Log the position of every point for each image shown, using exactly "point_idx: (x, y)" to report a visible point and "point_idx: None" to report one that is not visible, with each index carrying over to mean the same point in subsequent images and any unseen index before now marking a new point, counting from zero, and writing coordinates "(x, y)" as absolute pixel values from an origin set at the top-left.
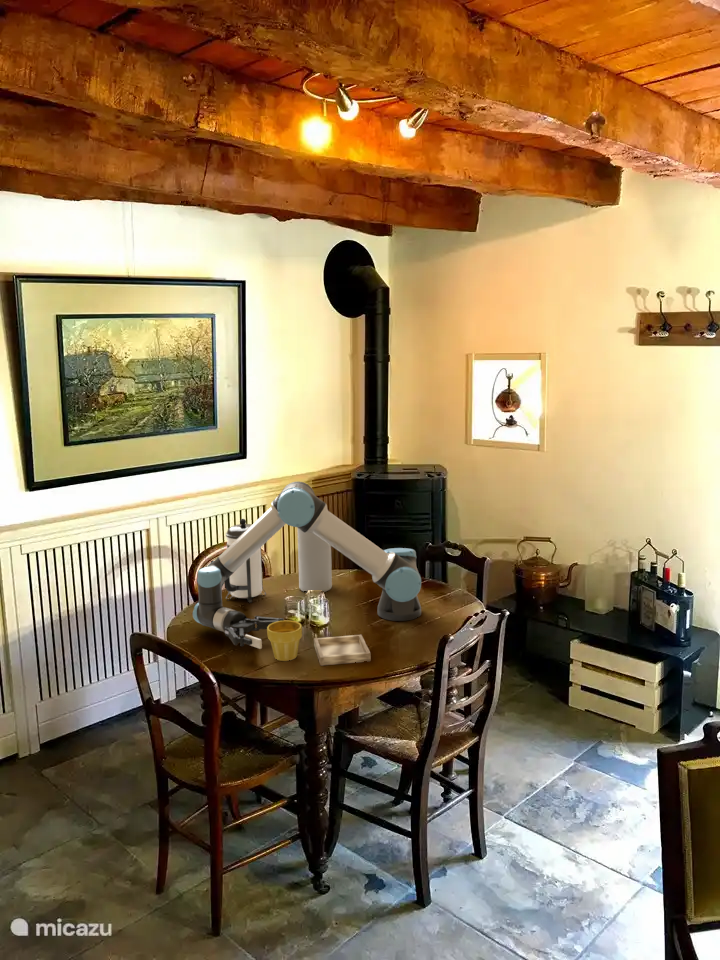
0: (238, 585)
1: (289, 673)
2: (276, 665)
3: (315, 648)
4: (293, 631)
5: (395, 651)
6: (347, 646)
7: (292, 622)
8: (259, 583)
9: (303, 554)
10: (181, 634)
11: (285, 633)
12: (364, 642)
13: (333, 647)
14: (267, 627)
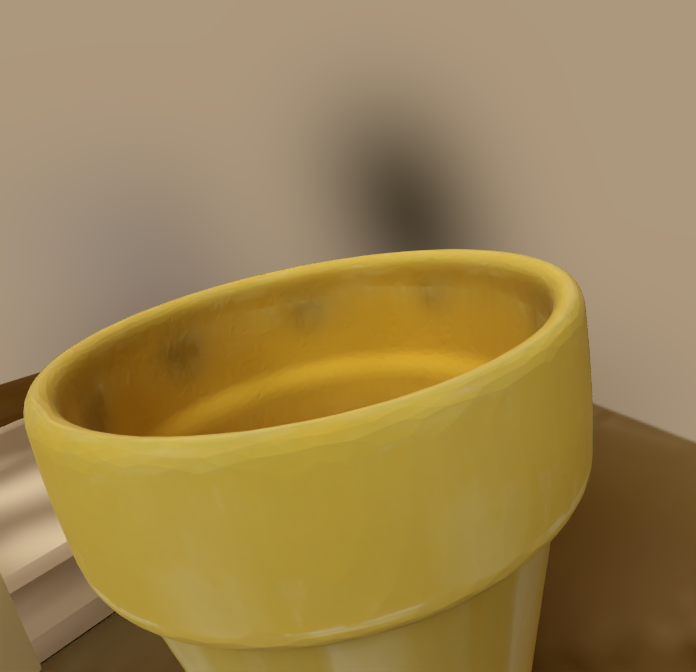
0: None
1: (593, 459)
2: (613, 600)
3: (87, 610)
4: (366, 256)
5: (14, 419)
6: (7, 506)
7: (68, 386)
8: None
9: None
10: None
11: (456, 254)
12: (3, 427)
13: (43, 538)
14: (528, 346)
